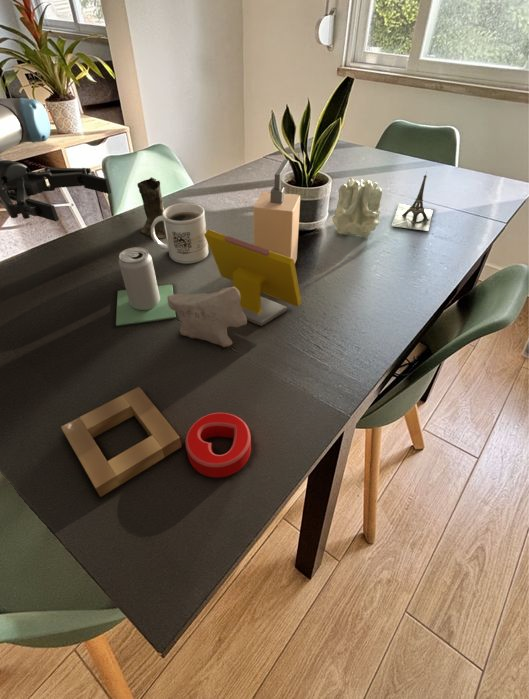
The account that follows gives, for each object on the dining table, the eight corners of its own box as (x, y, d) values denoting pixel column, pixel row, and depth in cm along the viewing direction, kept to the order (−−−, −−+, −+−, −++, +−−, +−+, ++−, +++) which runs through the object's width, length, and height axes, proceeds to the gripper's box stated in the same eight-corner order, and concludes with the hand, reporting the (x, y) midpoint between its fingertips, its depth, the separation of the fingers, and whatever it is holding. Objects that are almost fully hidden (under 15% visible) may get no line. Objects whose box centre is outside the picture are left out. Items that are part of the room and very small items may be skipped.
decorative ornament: (261, 438, 67) (261, 425, 65) (230, 488, 60) (228, 476, 58) (210, 415, 70) (208, 402, 68) (175, 460, 64) (172, 448, 62)
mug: (187, 269, 102) (180, 226, 94) (153, 253, 107) (144, 212, 100) (216, 251, 108) (212, 209, 100) (182, 237, 113) (177, 196, 106)
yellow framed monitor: (301, 314, 89) (306, 247, 78) (280, 335, 84) (283, 267, 74) (225, 284, 97) (221, 219, 87) (203, 301, 93) (195, 235, 82)
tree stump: (182, 222, 119) (174, 173, 110) (170, 239, 112) (160, 189, 103) (148, 219, 121) (138, 171, 112) (134, 236, 114) (122, 186, 105)
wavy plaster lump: (360, 258, 118) (380, 224, 104) (317, 240, 119) (331, 204, 104) (380, 209, 124) (401, 171, 109) (338, 192, 125) (354, 152, 110)
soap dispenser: (289, 277, 99) (294, 183, 84) (254, 272, 101) (252, 179, 86) (300, 250, 108) (305, 161, 93) (267, 246, 110) (267, 157, 95)
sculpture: (253, 345, 82) (252, 280, 72) (244, 361, 79) (241, 295, 69) (178, 325, 87) (166, 261, 76) (166, 339, 84) (153, 274, 73)
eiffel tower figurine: (398, 204, 128) (408, 158, 119) (433, 210, 125) (446, 163, 116) (390, 227, 118) (401, 178, 108) (429, 233, 115) (443, 184, 106)
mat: (116, 326, 87) (115, 324, 86) (118, 292, 95) (117, 290, 95) (175, 318, 88) (175, 316, 88) (172, 285, 97) (172, 284, 97)
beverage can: (148, 315, 88) (136, 265, 80) (124, 307, 91) (110, 257, 82) (166, 299, 93) (157, 250, 84) (143, 291, 95) (131, 242, 86)
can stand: (100, 497, 59) (95, 488, 58) (65, 436, 67) (60, 426, 65) (182, 446, 66) (179, 437, 64) (142, 396, 73) (139, 386, 71)
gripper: (59, 177, 98) (131, 194, 91) (-41, 220, 82) (36, 246, 75) (48, 142, 93) (123, 158, 86) (-61, 181, 77) (20, 205, 70)
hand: (83, 199), depth 80 cm, fingers open, 13 cm apart
